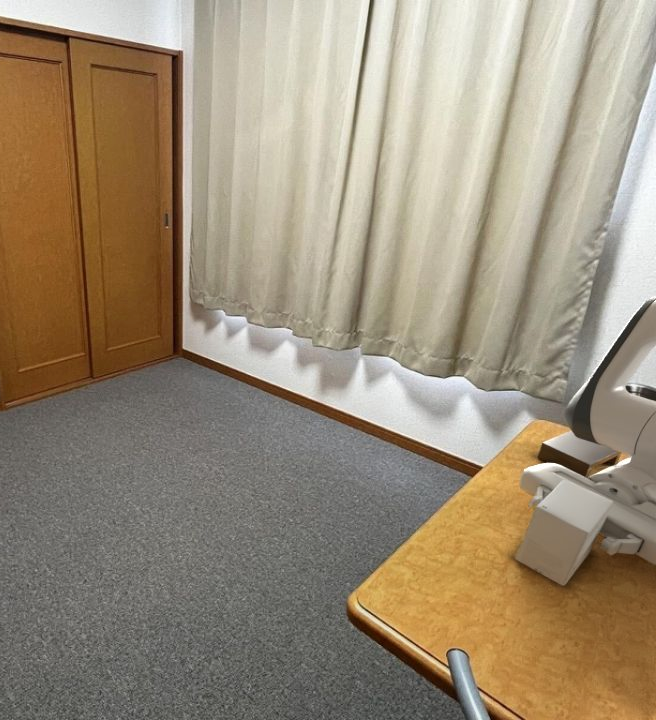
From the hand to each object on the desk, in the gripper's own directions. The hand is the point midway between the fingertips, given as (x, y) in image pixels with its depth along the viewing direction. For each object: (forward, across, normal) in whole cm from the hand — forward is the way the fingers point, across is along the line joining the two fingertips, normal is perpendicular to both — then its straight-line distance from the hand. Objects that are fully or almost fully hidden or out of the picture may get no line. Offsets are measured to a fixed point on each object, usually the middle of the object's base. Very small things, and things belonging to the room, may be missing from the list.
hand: (567, 525), depth 69 cm
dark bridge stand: (-28, -12, +6) cm, 31 cm away
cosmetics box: (+1, 0, +6) cm, 6 cm away
